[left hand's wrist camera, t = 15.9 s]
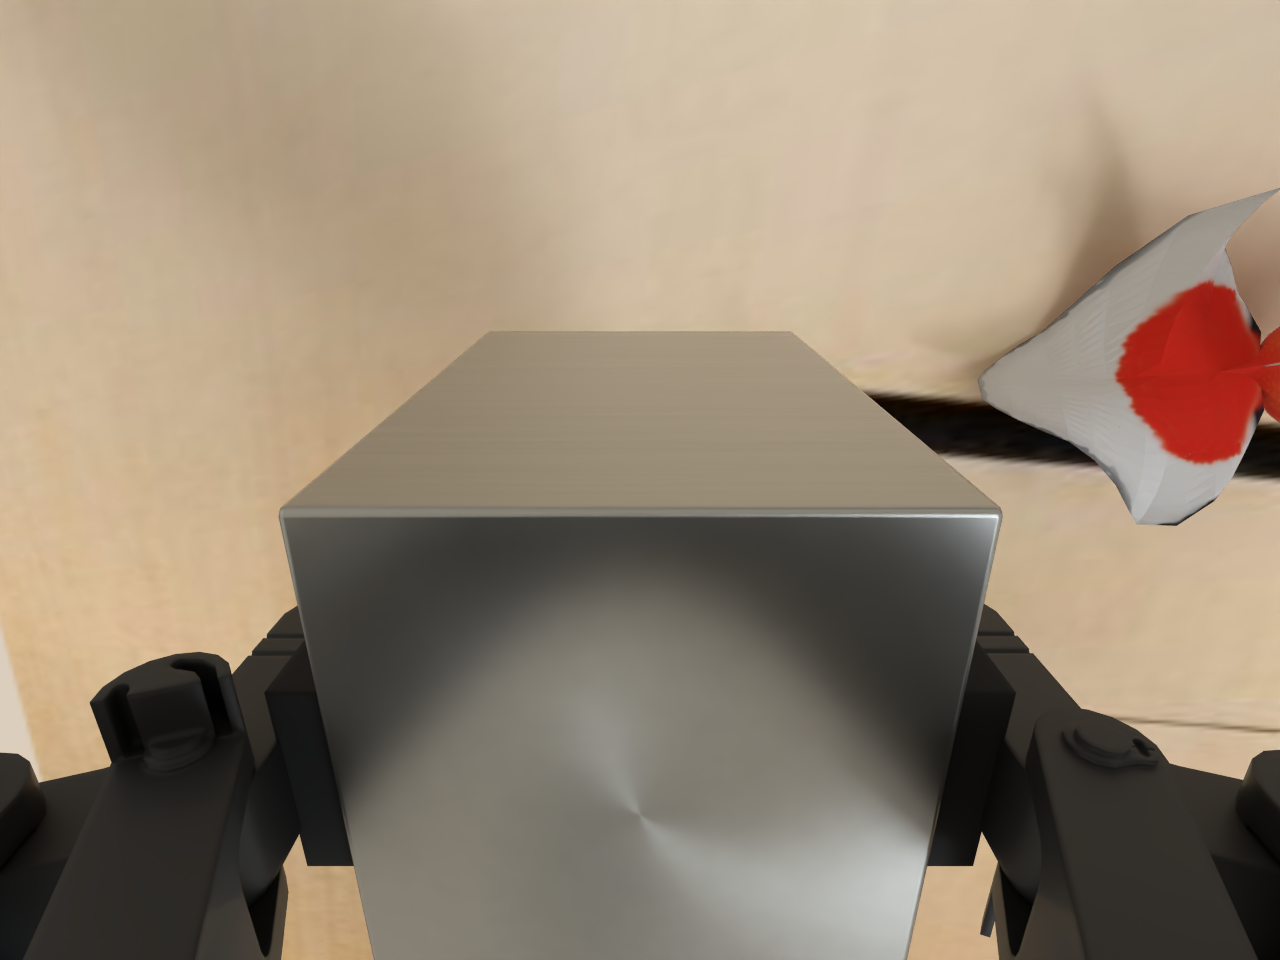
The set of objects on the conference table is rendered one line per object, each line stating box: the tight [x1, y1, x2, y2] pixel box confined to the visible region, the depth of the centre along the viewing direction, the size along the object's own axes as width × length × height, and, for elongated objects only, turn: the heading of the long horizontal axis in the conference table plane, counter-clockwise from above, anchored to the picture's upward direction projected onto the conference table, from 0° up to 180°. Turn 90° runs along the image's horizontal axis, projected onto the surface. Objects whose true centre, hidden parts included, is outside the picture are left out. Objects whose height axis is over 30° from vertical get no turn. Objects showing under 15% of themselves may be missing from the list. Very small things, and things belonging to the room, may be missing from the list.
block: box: [279, 332, 1002, 960], centre depth 12 cm, size 8×7×10 cm
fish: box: [978, 188, 1280, 526], centre depth 24 cm, size 11×16×10 cm
